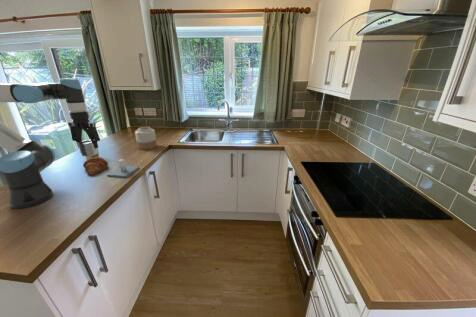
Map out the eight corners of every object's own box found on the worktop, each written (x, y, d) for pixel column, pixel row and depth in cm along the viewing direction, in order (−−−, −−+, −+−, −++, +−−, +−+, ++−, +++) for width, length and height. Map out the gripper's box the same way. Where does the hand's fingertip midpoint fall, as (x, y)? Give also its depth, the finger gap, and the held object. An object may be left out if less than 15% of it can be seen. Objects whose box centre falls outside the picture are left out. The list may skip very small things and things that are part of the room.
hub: (90, 156, 109) (87, 143, 106) (79, 155, 110) (75, 143, 107) (100, 152, 115) (97, 140, 113) (89, 151, 116) (86, 139, 114)
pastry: (116, 168, 136) (113, 157, 133) (91, 177, 124) (87, 165, 121) (102, 163, 144) (99, 152, 141) (77, 171, 131) (73, 159, 128)
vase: (133, 149, 171) (129, 129, 165) (145, 143, 185) (142, 125, 179) (149, 150, 168) (146, 130, 162) (160, 145, 182) (157, 126, 175)
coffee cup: (93, 161, 145) (88, 145, 141) (82, 160, 147) (77, 144, 143) (103, 156, 154) (99, 141, 150) (93, 155, 156) (88, 140, 151)
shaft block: (126, 177, 123) (123, 165, 120) (107, 176, 124) (104, 164, 121) (139, 168, 136) (137, 156, 133) (122, 167, 137) (120, 155, 134)
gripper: (101, 110, 106) (111, 152, 115) (67, 109, 109) (79, 150, 117) (90, 112, 99) (101, 156, 108) (53, 111, 102) (67, 154, 110)
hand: (90, 153), depth 113 cm, fingers closed on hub, 7 cm apart
